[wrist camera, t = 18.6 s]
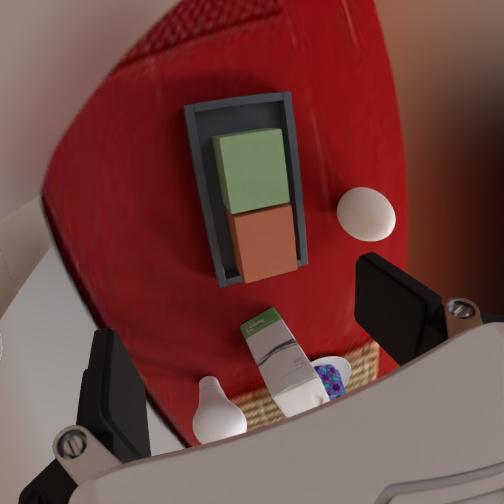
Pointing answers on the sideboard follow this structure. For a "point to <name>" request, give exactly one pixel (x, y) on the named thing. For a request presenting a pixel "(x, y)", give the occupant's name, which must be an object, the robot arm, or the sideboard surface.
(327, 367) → the patterned bowl
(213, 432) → the lightbulb
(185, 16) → the sideboard surface
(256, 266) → the orange block
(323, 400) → the ink box
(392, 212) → the egg
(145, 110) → the sideboard surface
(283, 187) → the green block
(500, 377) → the robot arm
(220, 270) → the holder
